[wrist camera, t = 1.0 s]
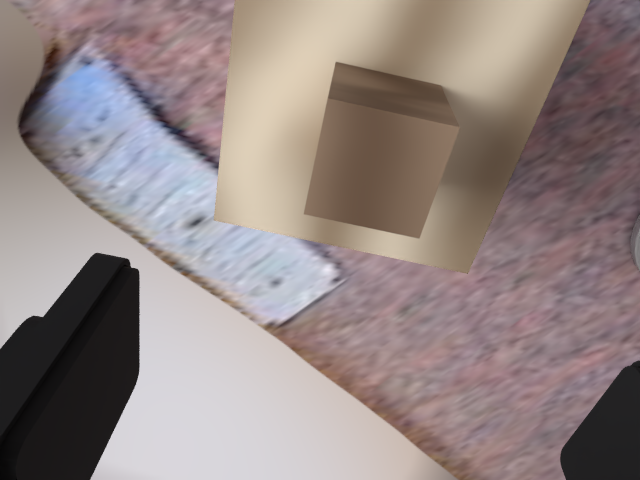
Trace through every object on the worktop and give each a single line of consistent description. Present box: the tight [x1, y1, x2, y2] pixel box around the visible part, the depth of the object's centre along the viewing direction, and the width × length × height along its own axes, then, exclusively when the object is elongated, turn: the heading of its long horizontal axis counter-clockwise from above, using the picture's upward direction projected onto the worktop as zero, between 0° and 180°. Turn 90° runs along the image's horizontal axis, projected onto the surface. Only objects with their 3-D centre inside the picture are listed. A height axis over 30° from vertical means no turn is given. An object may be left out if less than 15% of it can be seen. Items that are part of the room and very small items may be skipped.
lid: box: [214, 0, 590, 274], centre depth 20 cm, size 13×13×7 cm
